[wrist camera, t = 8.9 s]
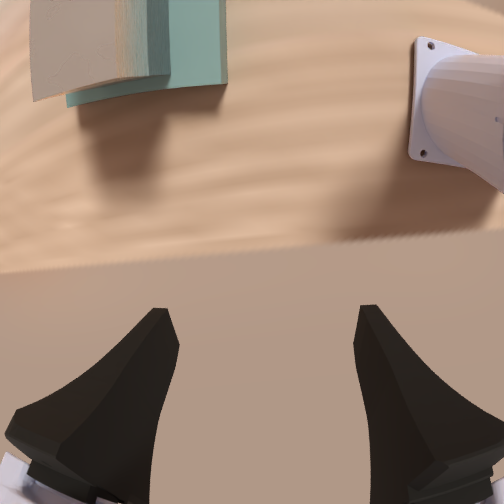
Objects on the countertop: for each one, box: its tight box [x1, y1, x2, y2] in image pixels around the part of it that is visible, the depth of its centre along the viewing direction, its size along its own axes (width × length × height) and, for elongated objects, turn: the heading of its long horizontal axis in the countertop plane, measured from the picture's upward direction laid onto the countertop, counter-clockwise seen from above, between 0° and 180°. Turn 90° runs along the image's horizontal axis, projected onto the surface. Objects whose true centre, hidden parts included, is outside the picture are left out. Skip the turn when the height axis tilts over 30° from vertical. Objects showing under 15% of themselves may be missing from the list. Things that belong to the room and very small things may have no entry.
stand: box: [66, 0, 228, 108], centre depth 13 cm, size 10×10×2 cm
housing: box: [30, 0, 171, 102], centre depth 10 cm, size 8×4×6 cm, turn 1°
